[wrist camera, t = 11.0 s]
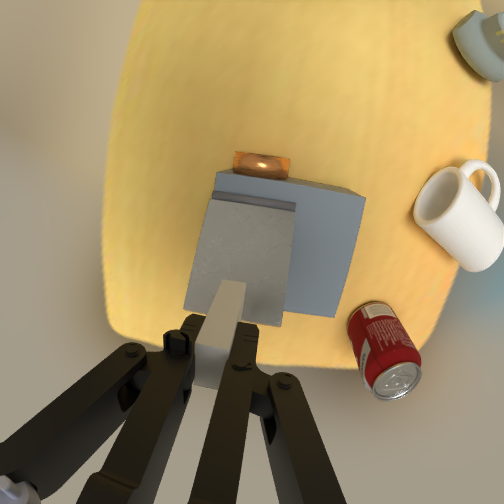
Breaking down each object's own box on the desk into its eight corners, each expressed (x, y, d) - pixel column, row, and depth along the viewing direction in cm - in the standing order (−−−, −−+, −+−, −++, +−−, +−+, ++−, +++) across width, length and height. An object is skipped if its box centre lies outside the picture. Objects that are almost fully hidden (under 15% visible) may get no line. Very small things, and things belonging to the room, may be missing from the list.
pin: (239, 151, 28) (231, 150, 23) (289, 158, 28) (291, 159, 23) (222, 289, 33) (213, 312, 28) (265, 297, 33) (263, 321, 28)
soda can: (358, 294, 33) (387, 355, 22) (401, 304, 33) (438, 361, 22) (338, 337, 35) (355, 403, 24) (379, 344, 35) (405, 406, 24)
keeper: (210, 203, 23) (209, 199, 22) (294, 216, 23) (295, 212, 22) (185, 310, 20) (183, 308, 19) (279, 327, 20) (281, 326, 19)
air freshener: (479, 91, 22) (526, 83, 13) (438, 43, 21) (480, 20, 12) (501, 56, 19) (542, 45, 9) (465, 13, 18) (501, -8, 8)
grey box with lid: (229, 169, 29) (214, 173, 22) (347, 188, 29) (368, 199, 22) (218, 270, 34) (202, 301, 26) (325, 287, 33) (335, 321, 26)
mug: (450, 258, 30) (482, 283, 23) (403, 216, 29) (435, 235, 22) (491, 187, 26) (528, 198, 19) (448, 138, 25) (487, 138, 18)
